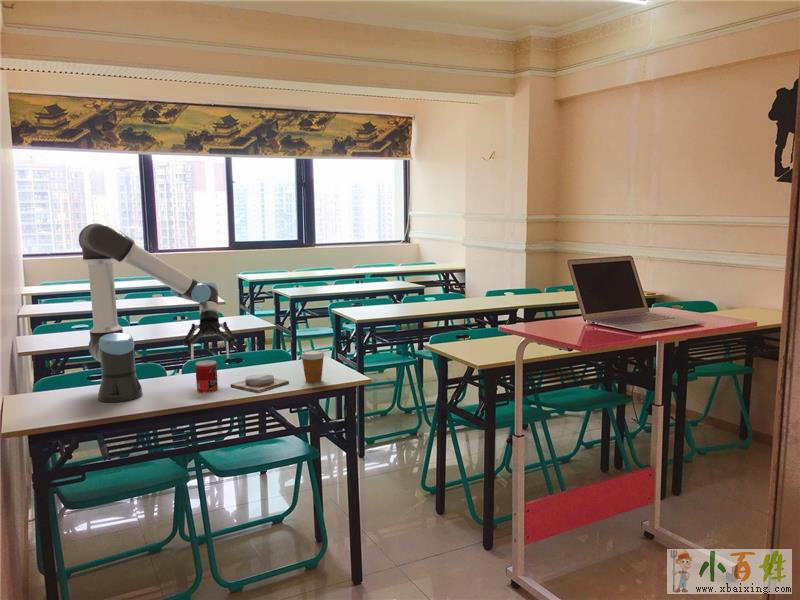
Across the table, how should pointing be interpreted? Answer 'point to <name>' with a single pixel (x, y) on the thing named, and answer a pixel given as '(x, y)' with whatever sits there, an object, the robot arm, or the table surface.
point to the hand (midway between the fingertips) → (210, 358)
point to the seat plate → (259, 388)
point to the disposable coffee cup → (313, 365)
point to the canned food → (206, 376)
